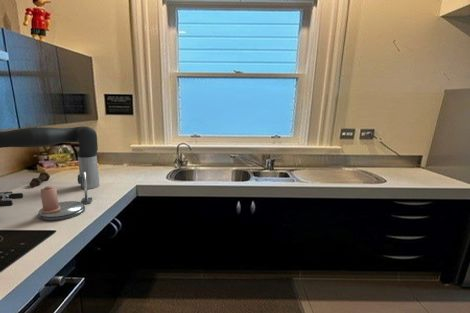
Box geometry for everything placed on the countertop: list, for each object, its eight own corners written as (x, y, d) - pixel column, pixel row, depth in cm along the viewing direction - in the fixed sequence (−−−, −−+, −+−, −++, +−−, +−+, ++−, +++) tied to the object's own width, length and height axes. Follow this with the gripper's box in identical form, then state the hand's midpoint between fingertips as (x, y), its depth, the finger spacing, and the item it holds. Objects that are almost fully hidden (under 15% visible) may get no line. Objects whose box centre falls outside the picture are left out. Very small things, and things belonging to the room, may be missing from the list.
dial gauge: (82, 201, 132) (79, 171, 129) (92, 200, 133) (89, 170, 130) (79, 204, 128) (76, 173, 125) (90, 203, 129) (87, 173, 126)
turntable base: (47, 207, 124) (47, 204, 124) (89, 203, 128) (88, 201, 128) (30, 223, 108) (30, 220, 108) (79, 218, 112) (78, 216, 112)
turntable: (47, 204, 123) (47, 202, 123) (87, 201, 127) (87, 199, 127) (32, 219, 108) (32, 216, 108) (77, 215, 112) (77, 212, 112)
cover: (45, 208, 116) (42, 185, 114) (63, 207, 118) (60, 184, 116) (38, 215, 110) (35, 190, 108) (57, 213, 112) (54, 188, 110)
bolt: (31, 191, 151) (44, 182, 165) (39, 186, 151) (51, 178, 166) (24, 182, 149) (37, 174, 164) (32, 177, 150) (45, 170, 164)
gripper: (-47, 199, 98) (6, 196, 102) (-23, 187, 112) (24, 184, 116) (-43, 219, 100) (9, 215, 104) (-19, 205, 113) (26, 201, 117)
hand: (17, 199), depth 110 cm, fingers open, 8 cm apart
